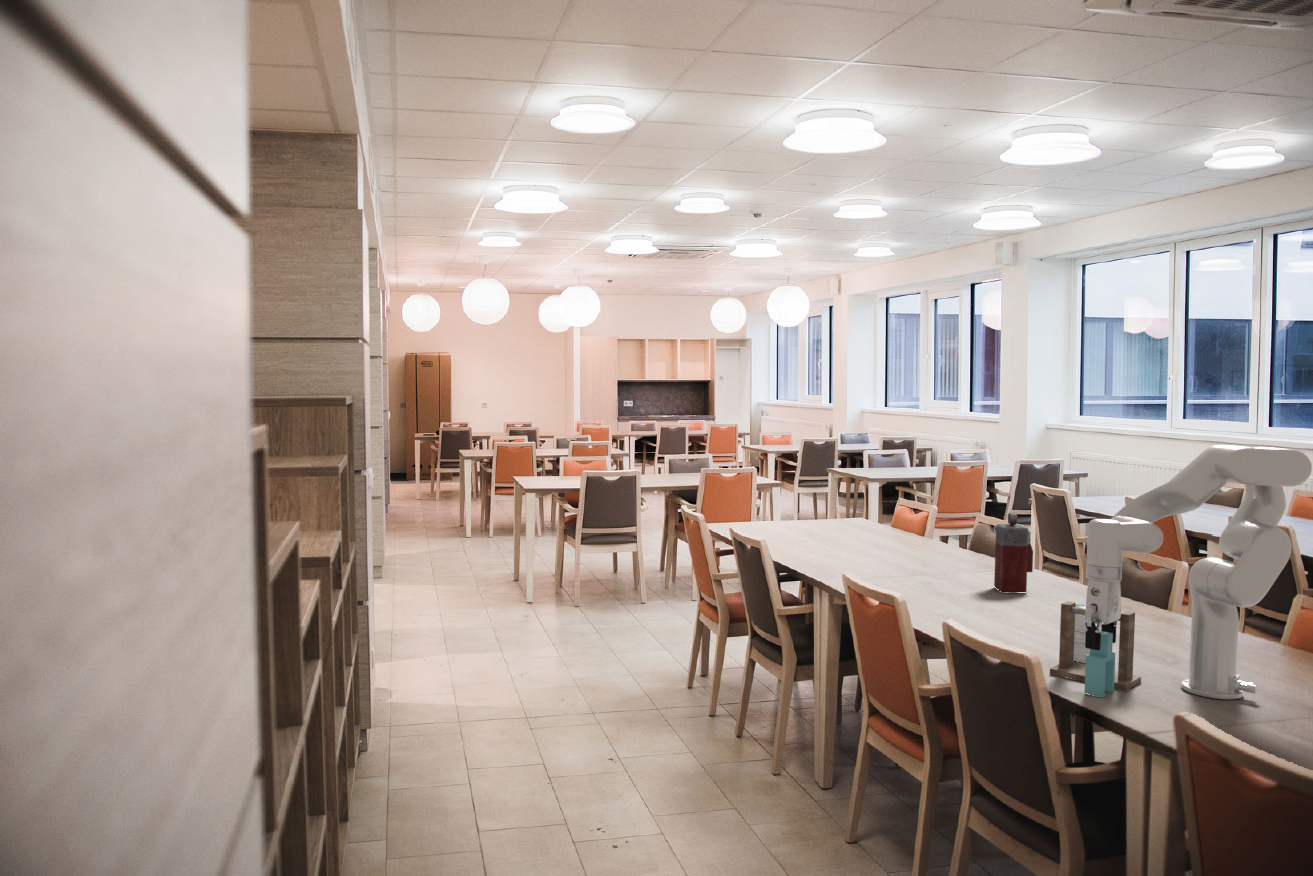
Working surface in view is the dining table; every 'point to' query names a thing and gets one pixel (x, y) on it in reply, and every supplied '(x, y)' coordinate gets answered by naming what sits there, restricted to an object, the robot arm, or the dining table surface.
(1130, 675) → the hanger rack
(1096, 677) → the teal block figure
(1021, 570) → the dark red lidded canister
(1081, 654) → the syrup box
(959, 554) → the dining table surface
